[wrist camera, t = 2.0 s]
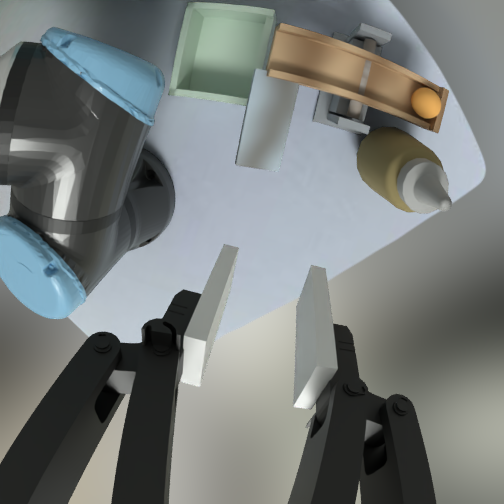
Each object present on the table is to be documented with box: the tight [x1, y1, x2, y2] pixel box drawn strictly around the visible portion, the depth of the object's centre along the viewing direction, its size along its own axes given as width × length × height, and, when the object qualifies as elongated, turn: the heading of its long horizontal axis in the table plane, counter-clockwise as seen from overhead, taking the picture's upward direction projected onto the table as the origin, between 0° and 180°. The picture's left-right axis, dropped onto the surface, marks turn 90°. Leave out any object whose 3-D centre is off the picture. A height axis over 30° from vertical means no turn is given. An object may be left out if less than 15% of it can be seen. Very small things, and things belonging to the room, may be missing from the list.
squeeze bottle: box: [357, 127, 452, 214], centre depth 26 cm, size 8×8×18 cm
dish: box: [168, 2, 277, 106], centre depth 29 cm, size 10×12×5 cm
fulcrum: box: [313, 23, 392, 135], centre depth 27 cm, size 6×12×10 cm, turn 169°
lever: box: [235, 23, 449, 172], centre depth 26 cm, size 19×15×6 cm
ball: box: [411, 88, 441, 118], centre depth 23 cm, size 3×3×3 cm
